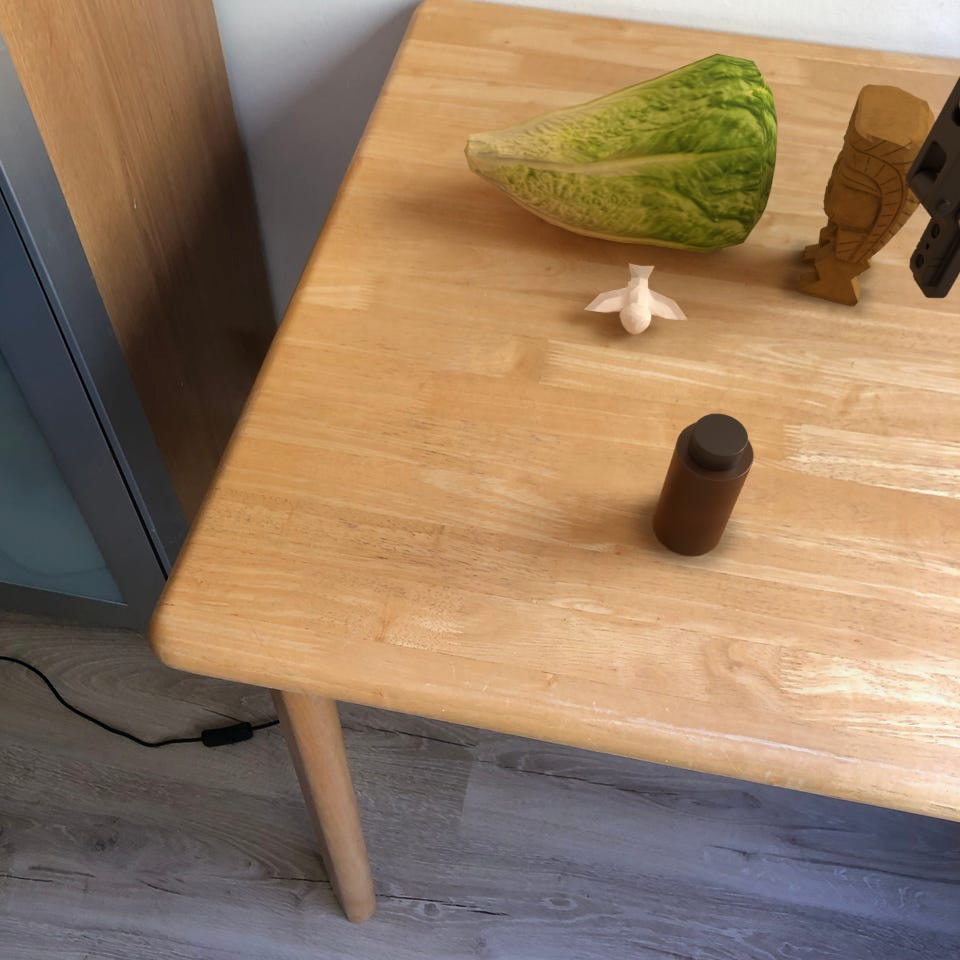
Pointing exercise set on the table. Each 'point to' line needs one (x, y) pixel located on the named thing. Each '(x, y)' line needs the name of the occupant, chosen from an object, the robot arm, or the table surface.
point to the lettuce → (646, 159)
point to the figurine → (867, 190)
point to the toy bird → (637, 302)
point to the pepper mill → (702, 484)
